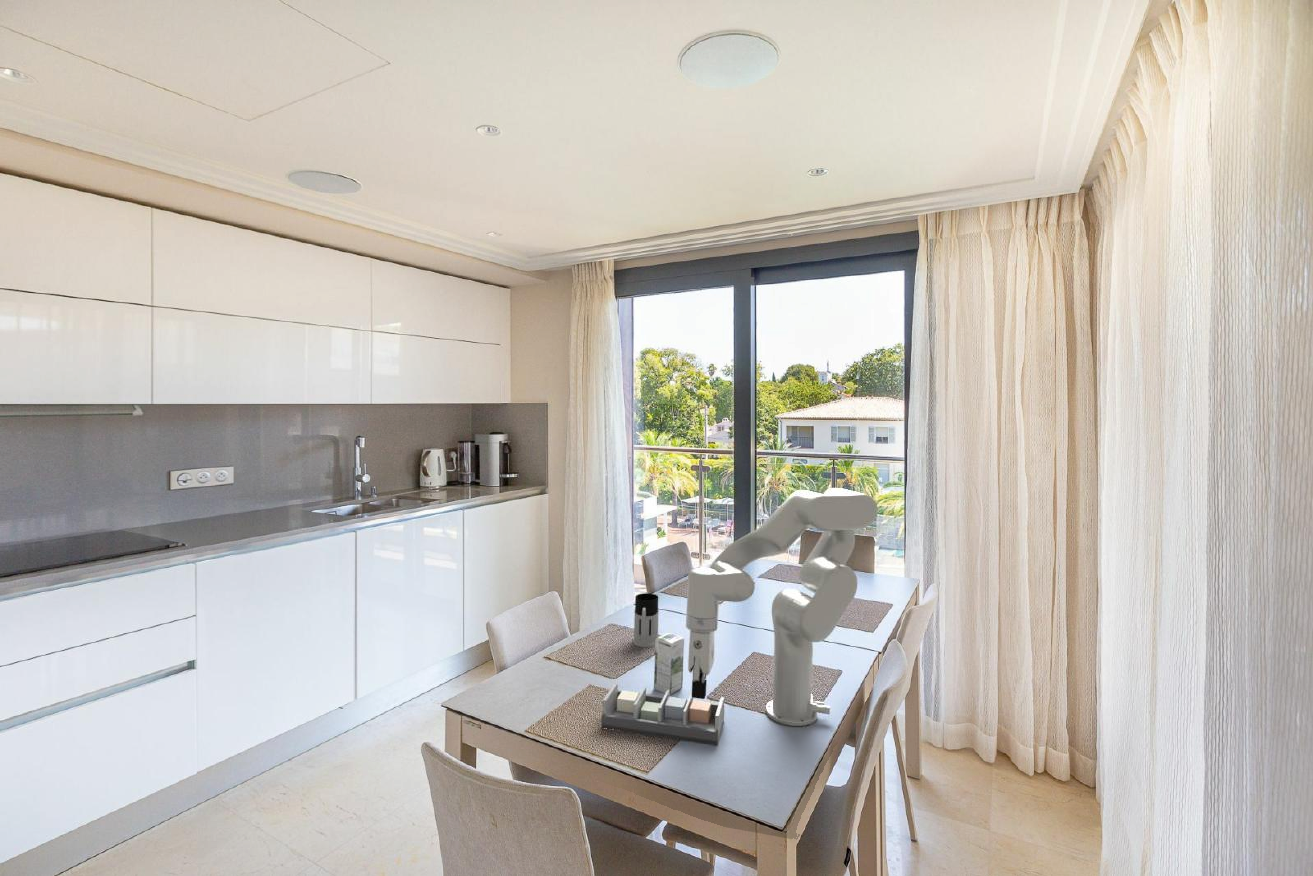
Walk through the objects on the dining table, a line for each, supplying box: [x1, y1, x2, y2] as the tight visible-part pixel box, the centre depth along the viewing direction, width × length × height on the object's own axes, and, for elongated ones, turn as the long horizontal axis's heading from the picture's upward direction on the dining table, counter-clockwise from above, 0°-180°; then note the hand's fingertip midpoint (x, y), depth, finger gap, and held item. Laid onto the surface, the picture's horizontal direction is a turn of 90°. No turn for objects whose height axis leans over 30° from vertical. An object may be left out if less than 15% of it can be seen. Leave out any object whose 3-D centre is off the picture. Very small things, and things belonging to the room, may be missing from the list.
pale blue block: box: [665, 696, 688, 720], centre depth 150 cm, size 4×4×3 cm
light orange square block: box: [690, 699, 712, 723], centre depth 149 cm, size 4×4×3 cm
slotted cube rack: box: [600, 682, 725, 747], centre depth 151 cm, size 28×11×7 cm, turn 76°
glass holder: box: [632, 592, 660, 648], centre depth 200 cm, size 9×14×15 cm, turn 174°
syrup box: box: [653, 632, 685, 696], centre depth 170 cm, size 6×6×14 cm
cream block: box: [617, 690, 640, 713], centre depth 153 cm, size 4×4×3 cm
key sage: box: [641, 701, 660, 722], centre depth 151 cm, size 4×4×3 cm
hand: (698, 696), depth 148 cm, fingers closed
